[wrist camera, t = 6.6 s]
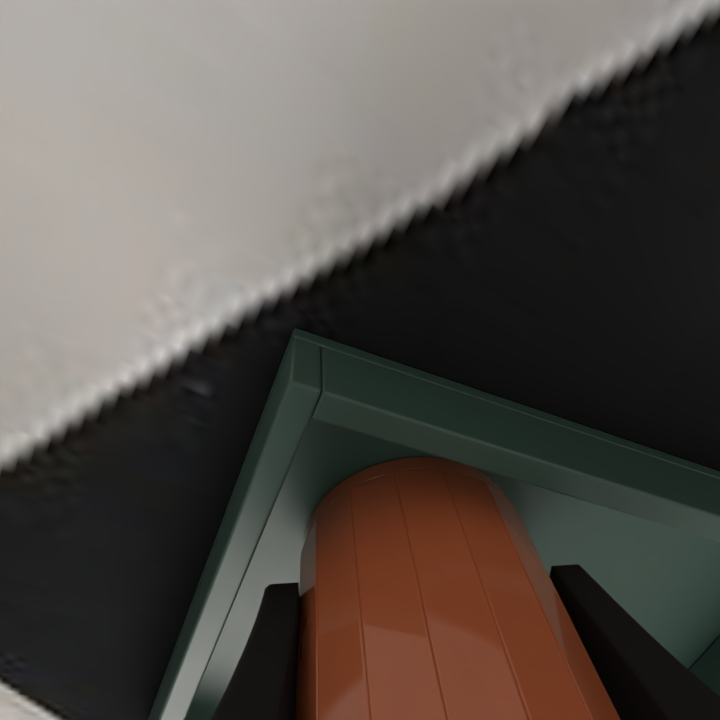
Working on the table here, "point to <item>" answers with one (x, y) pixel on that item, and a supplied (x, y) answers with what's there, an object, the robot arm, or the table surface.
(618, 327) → the table surface
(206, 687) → the tray
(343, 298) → the table surface
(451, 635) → the cup
